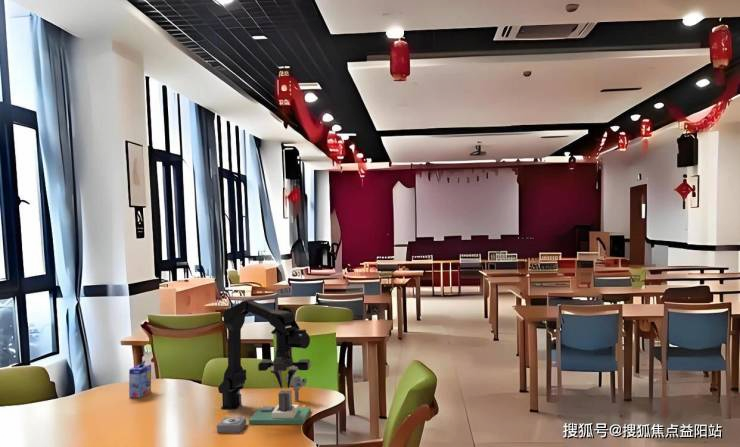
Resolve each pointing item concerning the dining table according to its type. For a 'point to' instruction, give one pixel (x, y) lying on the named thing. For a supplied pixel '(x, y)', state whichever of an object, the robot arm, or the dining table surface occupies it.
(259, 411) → the board
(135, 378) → the ink cartridge box
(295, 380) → the mechanical component
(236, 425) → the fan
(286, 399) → the plug
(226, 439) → the dining table surface
